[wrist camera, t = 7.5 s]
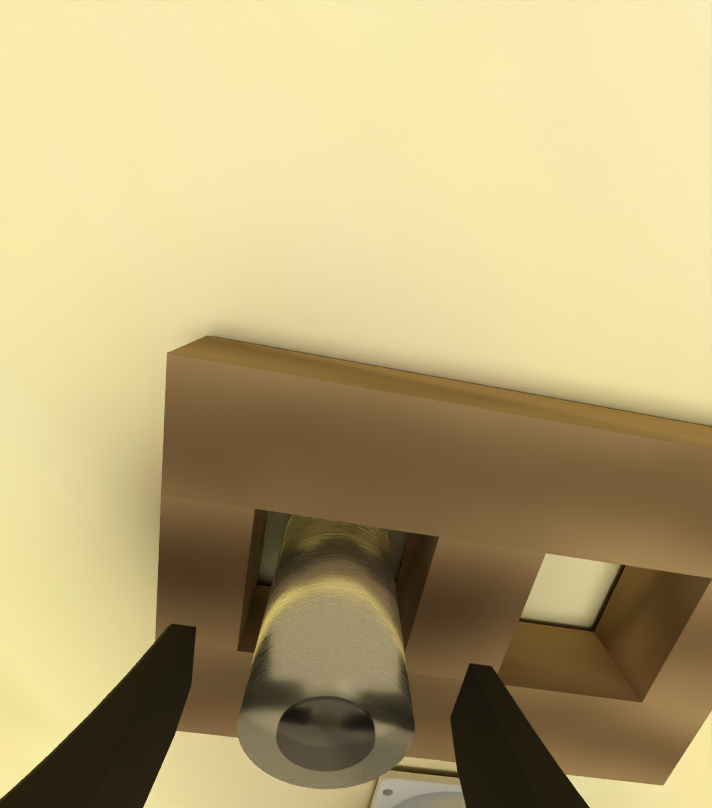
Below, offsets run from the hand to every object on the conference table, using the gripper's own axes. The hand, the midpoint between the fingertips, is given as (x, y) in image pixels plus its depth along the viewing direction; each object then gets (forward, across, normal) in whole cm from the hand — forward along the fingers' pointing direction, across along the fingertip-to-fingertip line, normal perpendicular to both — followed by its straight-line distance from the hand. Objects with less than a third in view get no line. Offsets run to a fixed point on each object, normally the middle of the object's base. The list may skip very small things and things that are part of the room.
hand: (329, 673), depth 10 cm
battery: (+6, 0, 0) cm, 6 cm away
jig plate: (+6, -4, 0) cm, 7 cm away
